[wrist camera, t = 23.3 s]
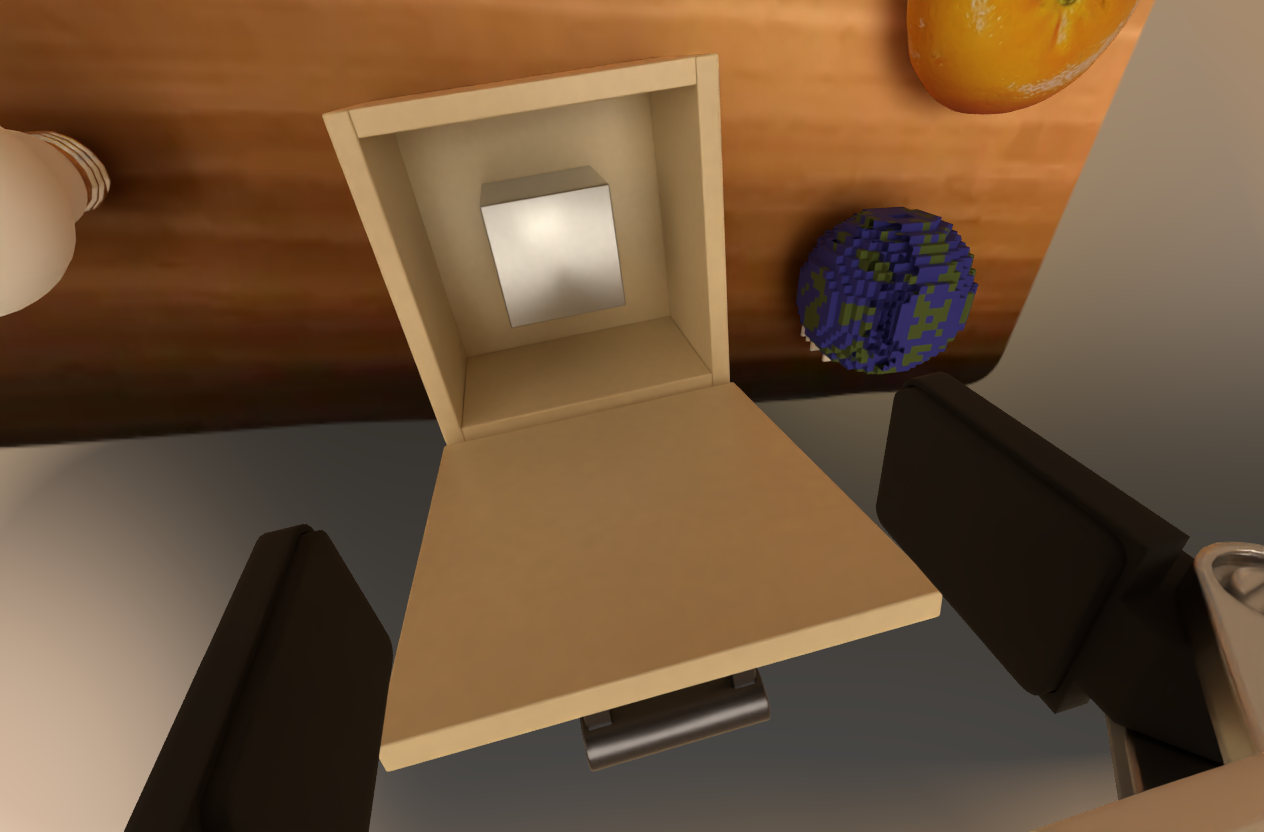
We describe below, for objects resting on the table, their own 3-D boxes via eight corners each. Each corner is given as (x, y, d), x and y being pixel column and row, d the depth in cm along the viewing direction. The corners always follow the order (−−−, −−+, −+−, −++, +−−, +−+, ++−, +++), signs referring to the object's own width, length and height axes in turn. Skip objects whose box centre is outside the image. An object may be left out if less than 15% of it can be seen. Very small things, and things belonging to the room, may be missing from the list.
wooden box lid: (372, 749, 11) (446, 881, 13) (944, 591, 13) (927, 733, 15) (444, 445, 23) (476, 541, 25) (733, 381, 25) (740, 477, 27)
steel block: (481, 183, 25) (479, 206, 21) (590, 165, 26) (609, 183, 22) (508, 289, 28) (511, 328, 24) (606, 271, 28) (626, 305, 24)
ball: (886, 331, 35) (974, 389, 29) (771, 343, 34) (836, 407, 27) (919, 195, 31) (1030, 228, 24) (789, 204, 29) (871, 241, 23)
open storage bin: (367, 101, 23) (320, 113, 17) (659, 56, 25) (719, 52, 18) (456, 366, 30) (447, 448, 24) (681, 320, 32) (730, 384, 25)
